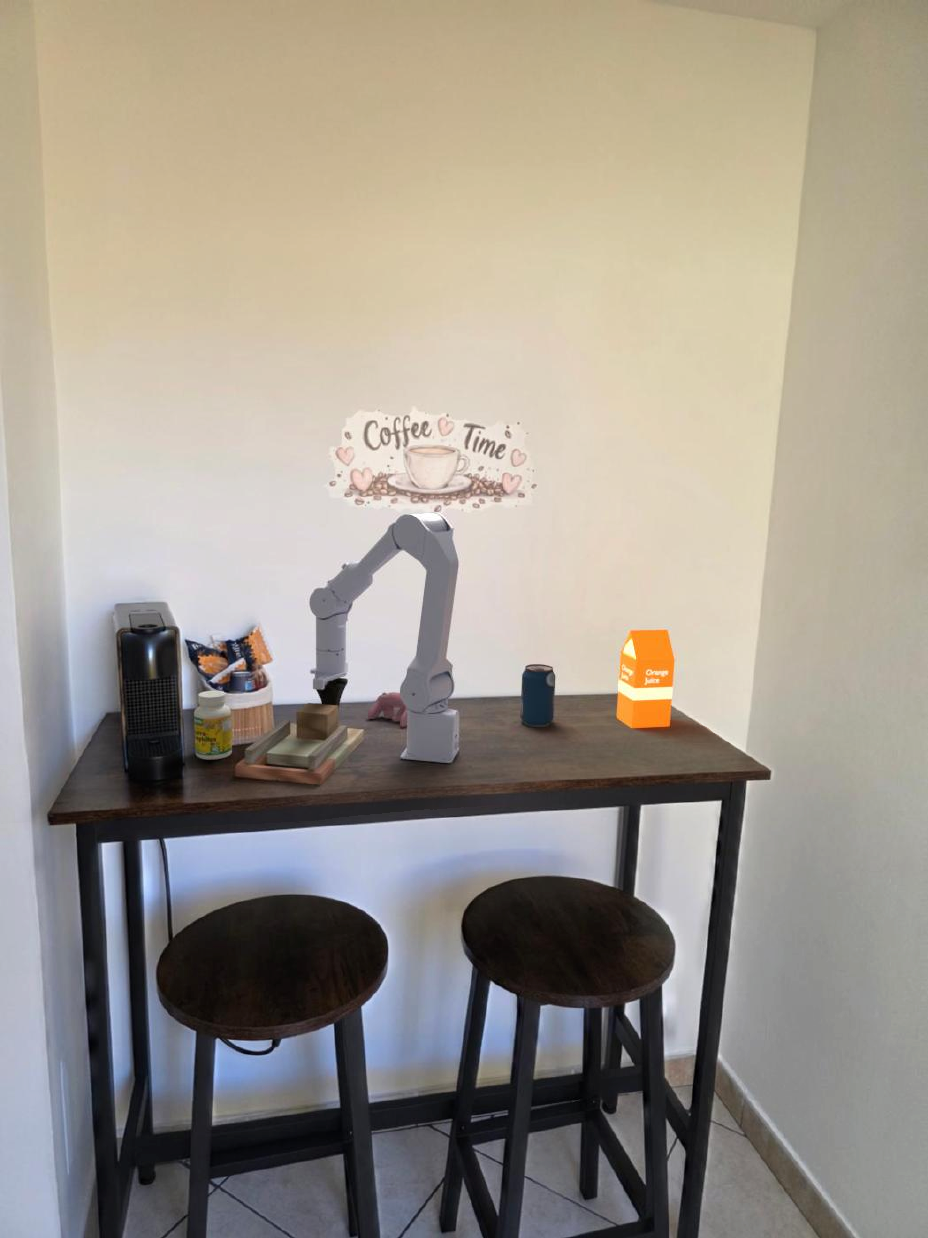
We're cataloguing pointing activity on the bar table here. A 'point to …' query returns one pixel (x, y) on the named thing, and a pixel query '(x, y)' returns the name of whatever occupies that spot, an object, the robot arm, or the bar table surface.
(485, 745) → the bar table surface
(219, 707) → the supplement bottle
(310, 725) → the walnut block
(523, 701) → the soda can
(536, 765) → the bar table surface
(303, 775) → the channel deck
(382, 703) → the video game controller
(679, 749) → the bar table surface
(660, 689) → the orange juice
